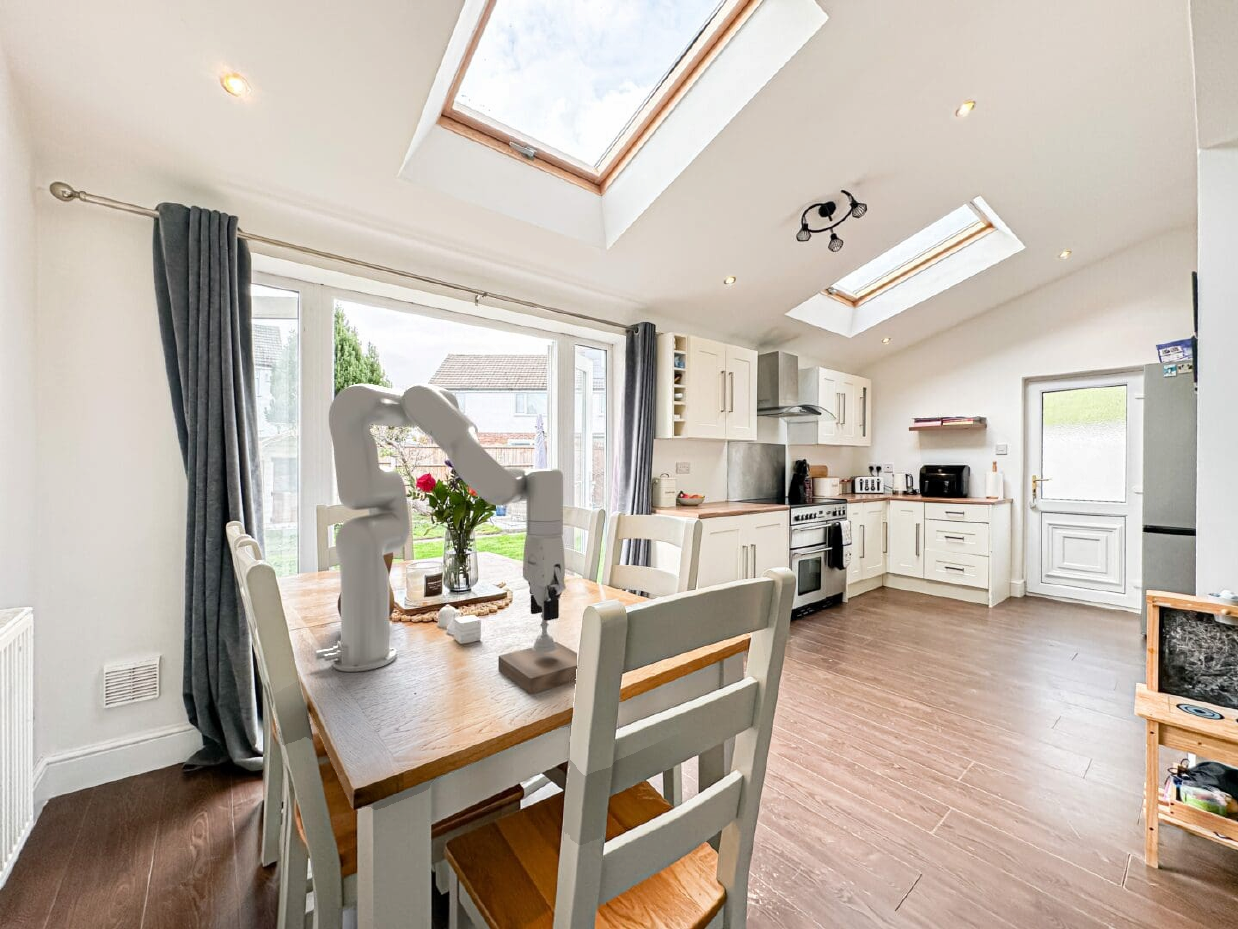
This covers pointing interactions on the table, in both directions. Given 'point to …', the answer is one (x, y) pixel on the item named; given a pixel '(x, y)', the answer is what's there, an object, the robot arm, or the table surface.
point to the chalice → (544, 640)
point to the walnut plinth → (539, 668)
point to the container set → (460, 625)
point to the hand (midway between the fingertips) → (544, 615)
